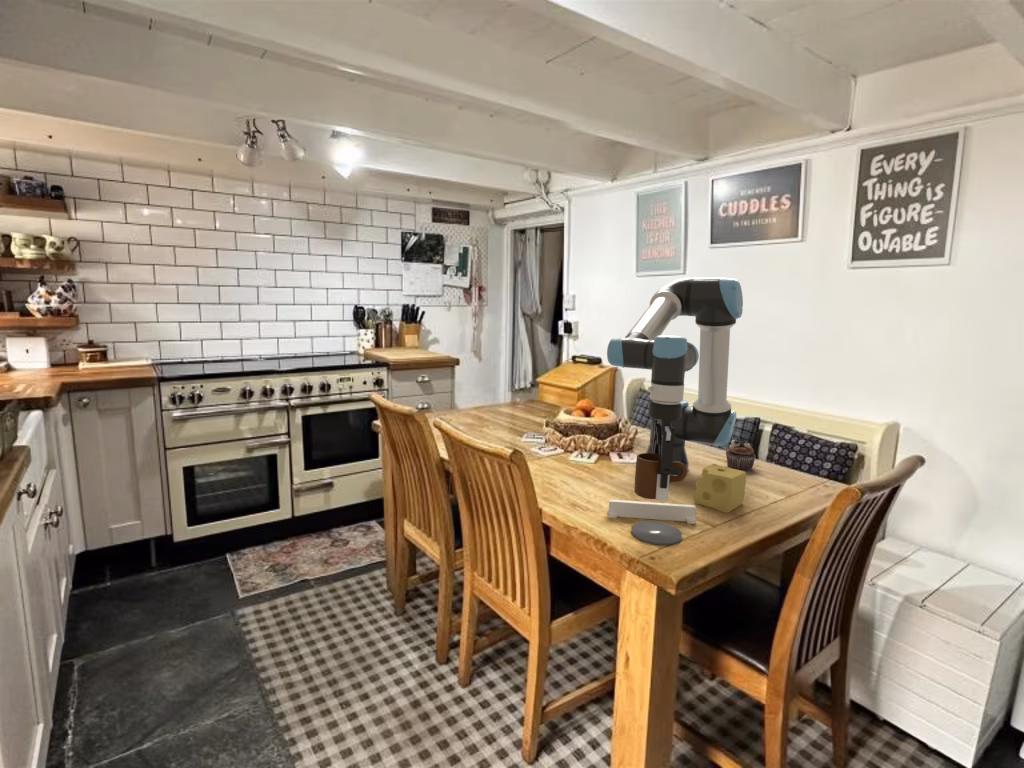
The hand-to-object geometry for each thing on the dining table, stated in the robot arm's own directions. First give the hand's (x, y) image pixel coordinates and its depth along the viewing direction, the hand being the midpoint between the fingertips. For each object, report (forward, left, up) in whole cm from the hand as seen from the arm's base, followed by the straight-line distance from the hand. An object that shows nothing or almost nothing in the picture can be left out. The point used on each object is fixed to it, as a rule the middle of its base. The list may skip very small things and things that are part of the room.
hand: (658, 493), depth 132 cm
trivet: (0, 0, -10) cm, 10 cm away
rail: (-10, 0, -10) cm, 14 cm away
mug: (+1, 0, -1) cm, 1 cm away
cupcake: (-61, +37, -11) cm, 72 cm away
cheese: (-24, +21, -11) cm, 34 cm away
